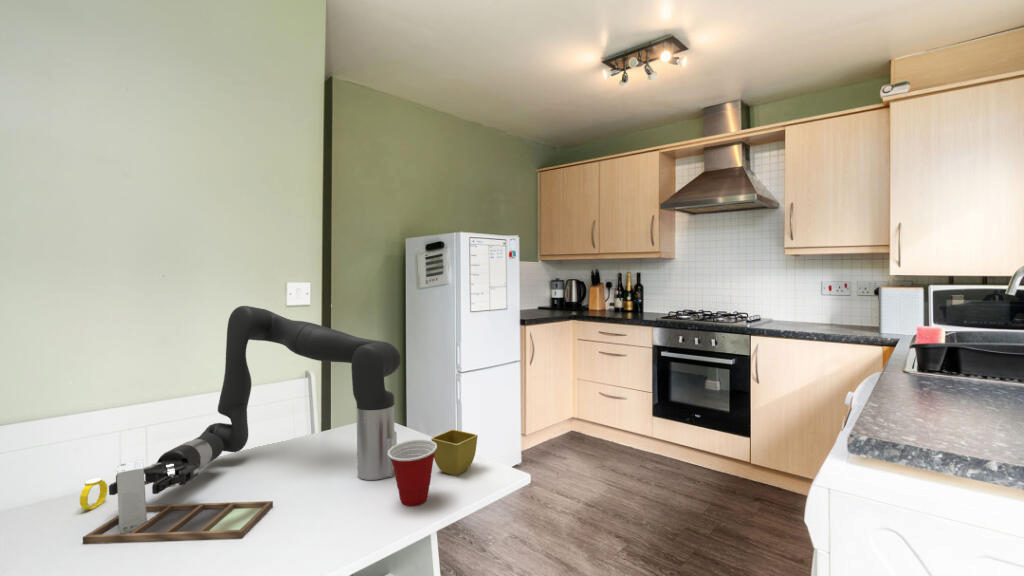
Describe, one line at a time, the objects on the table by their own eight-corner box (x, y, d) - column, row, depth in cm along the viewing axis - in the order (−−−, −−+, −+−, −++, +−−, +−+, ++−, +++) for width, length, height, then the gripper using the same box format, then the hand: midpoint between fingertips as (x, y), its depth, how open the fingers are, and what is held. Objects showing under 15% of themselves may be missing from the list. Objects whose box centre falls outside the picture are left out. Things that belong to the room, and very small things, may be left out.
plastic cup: (378, 501, 103) (377, 447, 103) (418, 486, 111) (418, 435, 111) (406, 518, 95) (405, 459, 95) (447, 499, 103) (447, 446, 103)
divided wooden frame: (272, 506, 101) (272, 501, 101) (241, 538, 88) (241, 531, 88) (134, 511, 100) (134, 505, 100) (82, 543, 87) (82, 537, 87)
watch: (91, 514, 99) (88, 487, 99) (76, 515, 99) (74, 488, 99) (111, 499, 105) (109, 473, 105) (98, 500, 105) (96, 474, 105)
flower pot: (479, 468, 121) (478, 434, 121) (457, 481, 113) (457, 444, 113) (452, 462, 125) (452, 429, 125) (430, 473, 118) (430, 438, 118)
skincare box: (147, 527, 93) (146, 467, 93) (117, 535, 90) (116, 473, 90) (146, 516, 97) (145, 458, 97) (118, 523, 95) (117, 464, 95)
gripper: (154, 444, 110) (95, 472, 94) (216, 443, 110) (168, 470, 94) (155, 476, 110) (96, 509, 94) (216, 474, 110) (168, 507, 94)
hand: (132, 490), depth 94 cm, fingers open, 8 cm apart
